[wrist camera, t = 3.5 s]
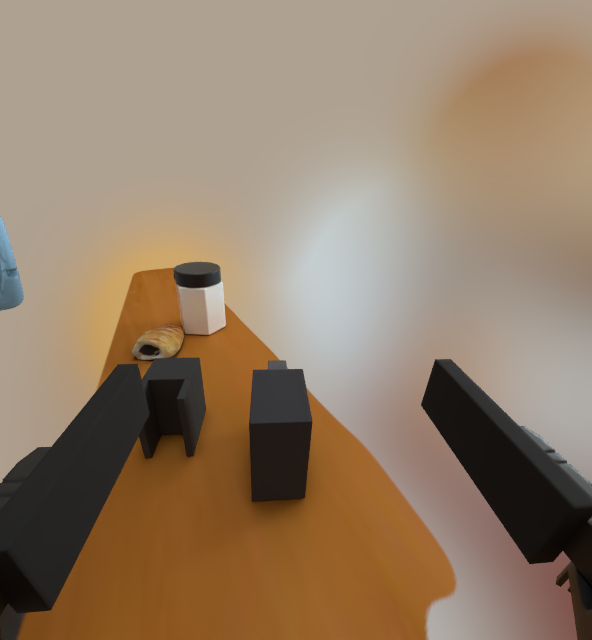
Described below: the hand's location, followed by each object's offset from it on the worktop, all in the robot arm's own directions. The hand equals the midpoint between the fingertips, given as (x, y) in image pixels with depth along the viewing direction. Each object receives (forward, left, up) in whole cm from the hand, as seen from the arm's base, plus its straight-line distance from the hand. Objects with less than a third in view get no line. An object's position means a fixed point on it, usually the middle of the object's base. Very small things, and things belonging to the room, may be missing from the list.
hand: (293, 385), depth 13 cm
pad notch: (+3, +19, -19) cm, 27 cm away
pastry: (+11, +37, -19) cm, 43 cm away
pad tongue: (+8, +8, -19) cm, 22 cm away
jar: (+21, +39, -19) cm, 48 cm away
